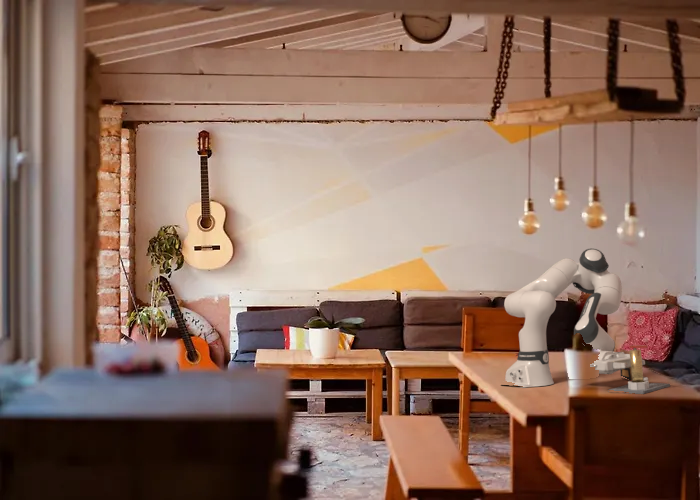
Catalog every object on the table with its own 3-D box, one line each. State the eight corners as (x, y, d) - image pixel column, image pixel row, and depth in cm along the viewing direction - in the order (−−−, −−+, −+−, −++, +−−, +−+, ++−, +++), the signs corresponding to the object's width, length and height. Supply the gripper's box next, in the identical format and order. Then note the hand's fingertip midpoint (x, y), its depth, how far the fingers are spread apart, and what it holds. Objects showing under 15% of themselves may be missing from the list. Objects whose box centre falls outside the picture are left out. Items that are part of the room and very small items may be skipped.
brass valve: (630, 388, 316) (627, 346, 316) (636, 387, 319) (632, 345, 319) (647, 389, 311) (643, 346, 312) (653, 388, 314) (649, 344, 314)
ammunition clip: (620, 377, 356) (618, 349, 356) (625, 377, 356) (622, 348, 357) (630, 380, 345) (627, 351, 346) (634, 380, 345) (632, 350, 346)
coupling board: (608, 392, 318) (607, 382, 318) (636, 385, 332) (635, 375, 332) (643, 394, 308) (642, 384, 308) (670, 386, 321) (669, 376, 322)
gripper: (586, 357, 323) (614, 358, 311) (624, 351, 333) (652, 352, 322) (587, 373, 323) (615, 375, 311) (625, 367, 333) (654, 369, 321)
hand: (635, 364), depth 316 cm, fingers open, 8 cm apart
